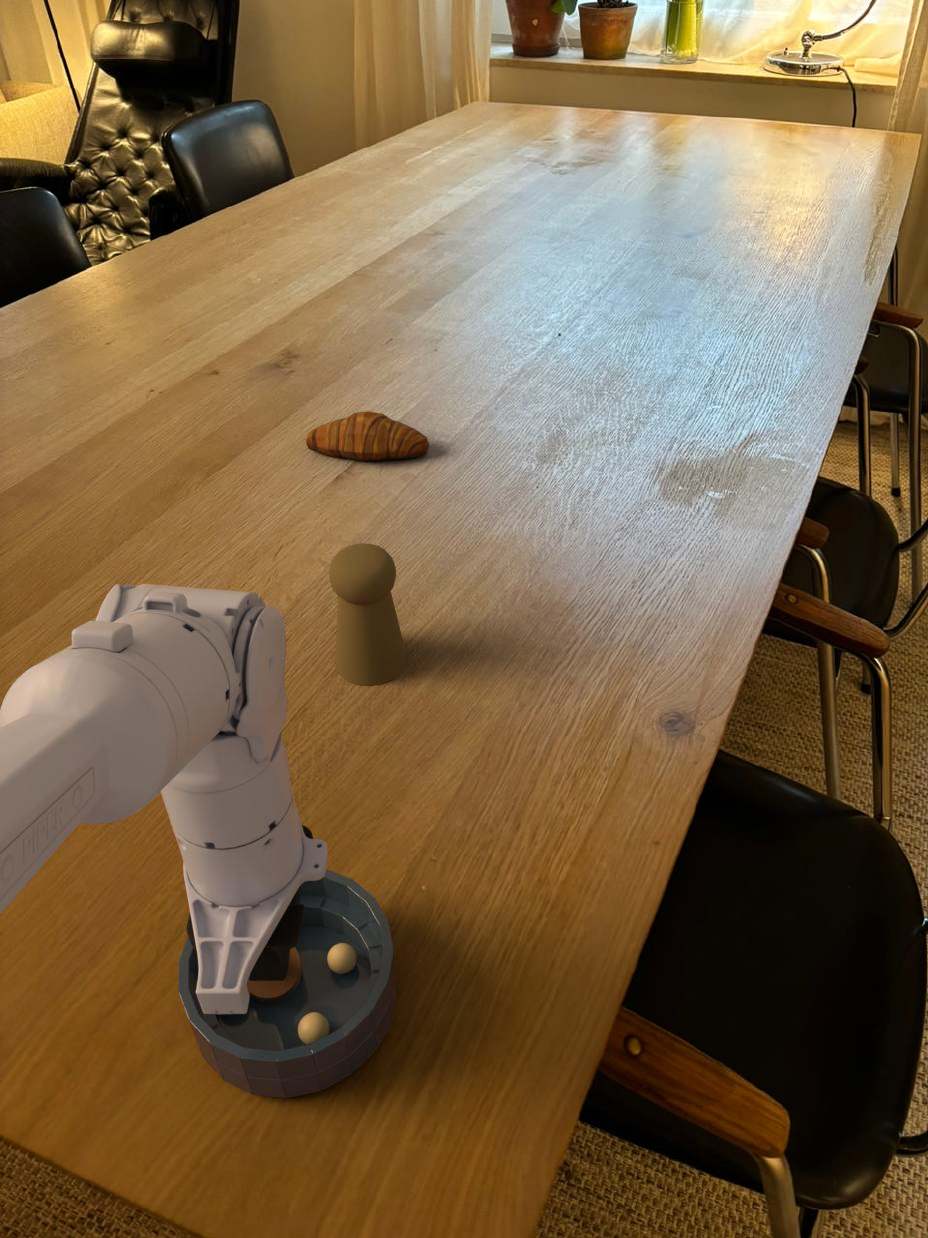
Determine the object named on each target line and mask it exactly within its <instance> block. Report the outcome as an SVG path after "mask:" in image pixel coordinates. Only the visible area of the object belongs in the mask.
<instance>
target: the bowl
mask: <svg viewBox="0 0 928 1238" xmlns="http://www.w3.org/2000/svg"><path fill="white" fill-rule="evenodd" d="M297 904H304V905H305V906H304V913H303V920H302V927H301V932H300V935H299V938H298V941H297V943H296V946H295V948H296V949H297V951H298V953H299V956H300V960H301V967H302V975H301V980H300V983H299V985H298V987H297V989H296V990H295V991H294V993H293V994H292V995H291V996H289V997H288V998H287V999H285V1000H283V1001H281V1002H278V1003H274V1004H265V1003H261V1002H258V1001H256V1000H254V999H253V998H252V997H250V998H249V1004H248V1009H247V1013H246V1014H204V1013H203V1011H202V1008H201V1005H200V1003H199V1000H198V997H197V995H196V988H197V982H198V973H199V964H198V954H197V949H196V948H194V947H193V946H192V945H191V942H190V940H189V937H188V936H187V937H186V940H185V943H184V946H183V948H182V951H181V954H180V957H179V959H178V970H177V971H178V972H177V973H178V976H177V977H178V979H177V982H178V984H177V985H178V986H177V992H178V996H179V998H180V1001H181V1004H182V1006H183V1008H184V1012H185V1014H186V1017H187V1020H188V1022H189V1025H190V1027H191V1030H192V1033H193V1036H194V1038H195V1041H196V1043H197V1047H198V1048H199V1050H200V1053H201V1056H202V1058H203V1059H204V1060H205V1062H206V1063H207V1064H208V1065H209V1066H210V1067H211V1068H212V1069H213V1070H214V1071H215V1073H216V1074H217V1075H218V1076H219V1077H220V1078H221V1080H223V1081H224V1082H226V1083H228V1084H230V1085H232V1086H234V1087H236V1088H239V1089H240V1090H242V1091H244V1092H246V1093H249V1094H251V1095H255V1096H265V1097H273V1098H282V1099H290V1098H295V1097H300V1096H304V1095H310V1094H314V1093H319V1092H321V1091H325V1090H326V1089H328V1088H329V1087H332V1086H333V1085H335V1084H337V1083H339V1082H341V1081H342V1080H345V1079H346V1078H348V1077H349V1076H352V1075H353V1074H354V1073H355V1072H356V1071H357V1070H358V1069H359V1068H360V1067H361V1066H362V1065H363V1064H364V1063H365V1062H366V1061H367V1060H368V1059H369V1058H370V1057H371V1056H372V1055H373V1054H374V1053H375V1052H376V1051H377V1049H378V1048H379V1046H380V1044H381V1042H382V1041H383V1038H384V1037H385V1035H386V1033H387V1031H388V1029H389V1028H390V1025H391V1023H392V1022H393V1019H394V1014H395V1010H396V1009H395V1008H396V1003H397V997H398V992H399V991H398V990H399V985H398V977H397V970H396V969H397V968H396V959H395V950H394V944H393V937H392V931H391V925H390V923H389V919H388V918H387V916H386V914H385V913H384V911H383V909H382V908H381V906H380V904H379V903H378V901H377V899H376V897H374V896H373V895H372V894H371V893H370V892H369V891H367V890H366V889H365V888H364V887H363V886H362V885H360V884H359V883H358V882H356V881H355V880H354V879H352V878H350V877H348V876H345V875H344V874H343V875H342V874H340V873H337V872H335V871H332V870H330V869H327V868H326V873H325V875H324V877H323V878H321V879H320V880H316V881H305V882H303V883H302V884H301V885H300V886H299V889H298V894H297ZM339 943H346V944H349V945H351V946H352V947H353V948H354V950H355V952H356V955H357V961H356V964H355V966H354V968H353V969H352V970H351V971H350V972H348V973H345V974H338V973H335V972H334V971H332V970H331V969H330V967H329V965H328V962H327V957H328V953H329V951H330V949H331V948H332V947H333V946H335V945H336V944H339ZM312 1012H317V1013H320V1014H322V1015H324V1016H325V1017H326V1019H327V1020H328V1023H329V1034H328V1035H327V1036H326V1037H324V1038H322V1039H320V1040H318V1041H316V1042H314V1043H312V1044H310V1045H307V1044H305V1043H303V1042H302V1040H301V1039H300V1037H299V1034H298V1026H299V1023H300V1021H301V1019H302V1018H303V1017H304V1016H305V1015H307V1014H309V1013H312Z"/></svg>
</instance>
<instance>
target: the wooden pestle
mask: <svg viewBox="0 0 928 1238" xmlns="http://www.w3.org/2000/svg"><path fill="white" fill-rule="evenodd" d="M301 975H302V967H301V960H300V956H299V953H298V951H297V949H296V948H295V947H294V948H292V949H290V959H289V966H288V972H287V976H286V979H285V980H283V981H250V980H249V979H248V981H247V988H248V991H249V995H250V997H252V998H253V999H254V1000H256V1001H258V1002H261V1003H265V1004H274V1003H278V1002H281V1001H283V1000H285V999H287V998H288V997H289V996H291V995H292V994H293V993H294V991H295V990H296V989H297V987H298V985H299V983H300V980H301Z"/></svg>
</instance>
